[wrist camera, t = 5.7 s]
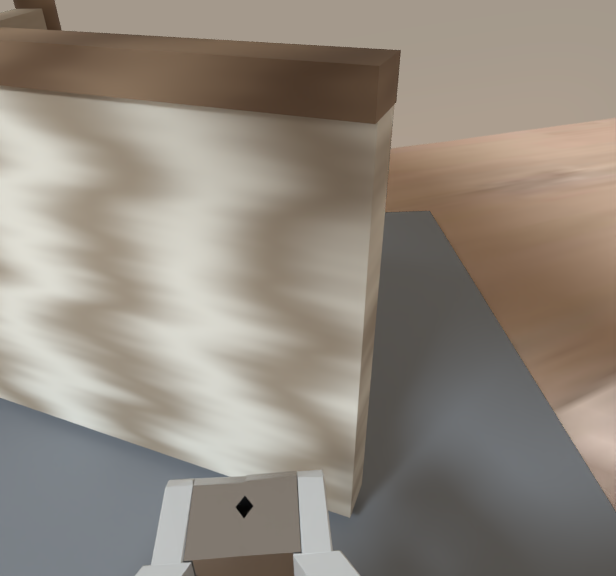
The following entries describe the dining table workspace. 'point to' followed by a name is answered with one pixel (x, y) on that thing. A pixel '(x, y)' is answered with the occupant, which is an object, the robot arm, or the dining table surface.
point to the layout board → (377, 458)
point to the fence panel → (196, 243)
